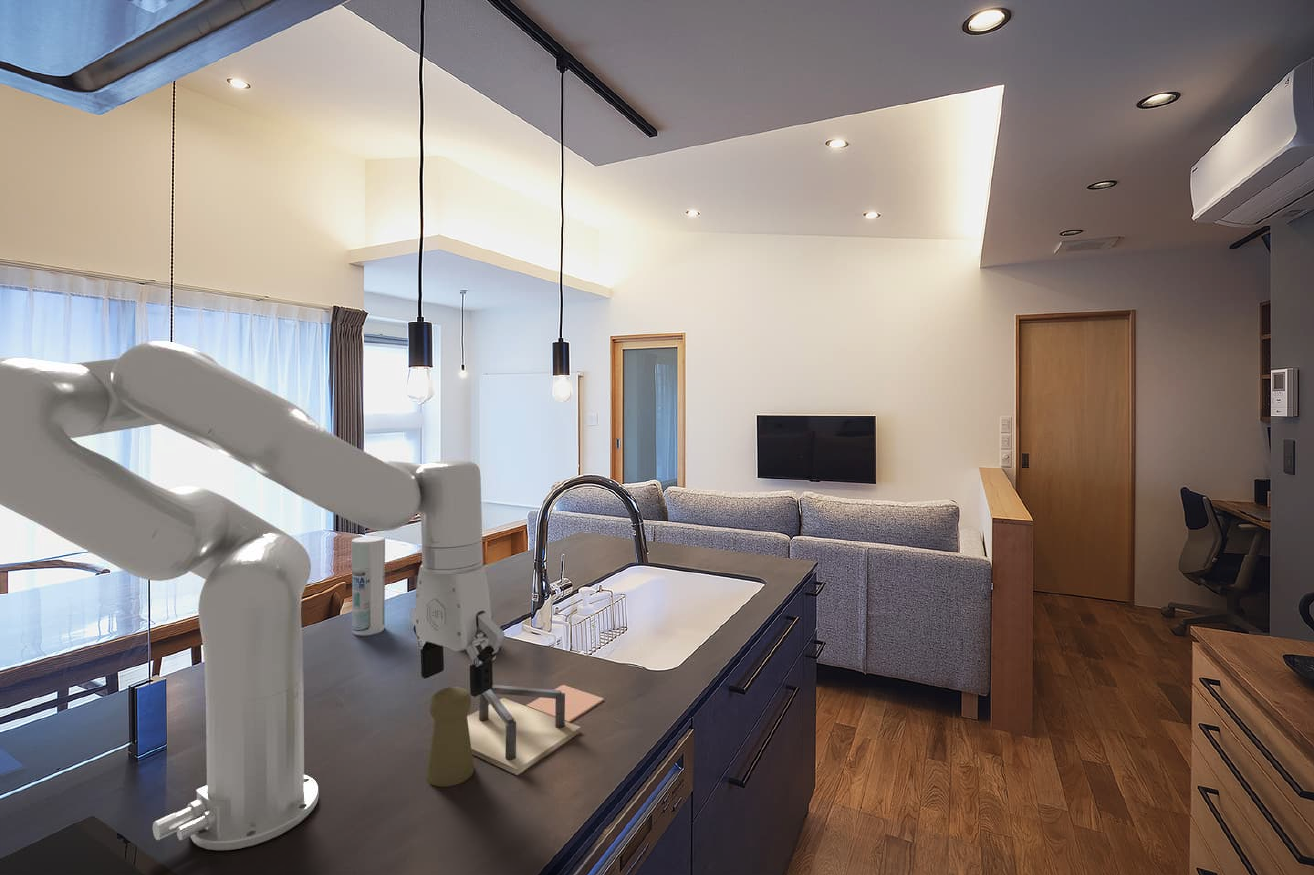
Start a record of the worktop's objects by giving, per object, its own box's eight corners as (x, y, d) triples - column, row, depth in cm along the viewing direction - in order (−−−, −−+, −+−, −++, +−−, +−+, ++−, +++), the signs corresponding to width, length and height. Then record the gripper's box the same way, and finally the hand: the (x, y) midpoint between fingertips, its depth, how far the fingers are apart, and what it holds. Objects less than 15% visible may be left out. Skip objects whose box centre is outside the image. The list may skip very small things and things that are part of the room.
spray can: (345, 631, 130) (345, 539, 129) (373, 623, 135) (373, 534, 134) (363, 638, 126) (363, 543, 125) (391, 628, 132) (391, 538, 131)
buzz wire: (517, 775, 79) (517, 730, 79) (436, 737, 88) (436, 697, 88) (580, 732, 90) (580, 692, 90) (503, 702, 99) (503, 666, 99)
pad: (568, 723, 93) (568, 721, 93) (526, 707, 98) (526, 705, 98) (603, 700, 101) (603, 698, 101) (563, 686, 105) (563, 684, 105)
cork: (459, 789, 76) (459, 704, 76) (416, 783, 77) (416, 699, 77) (482, 762, 82) (482, 683, 82) (442, 757, 83) (442, 679, 83)
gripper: (386, 553, 80) (391, 678, 81) (475, 571, 71) (478, 712, 72) (434, 542, 87) (438, 658, 87) (521, 557, 77) (524, 687, 78)
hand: (456, 682), depth 80 cm, fingers open, 9 cm apart
